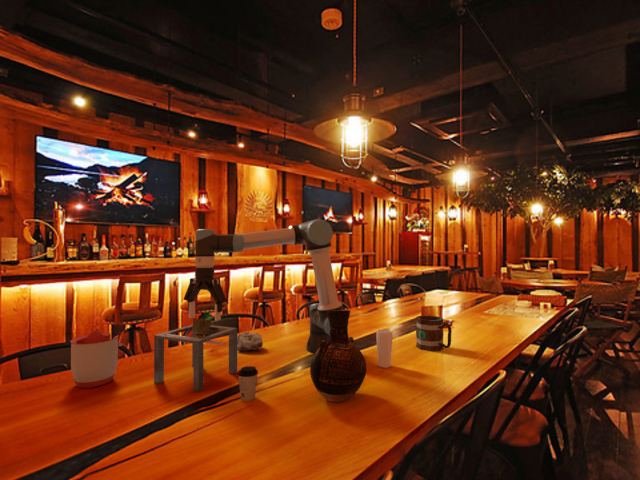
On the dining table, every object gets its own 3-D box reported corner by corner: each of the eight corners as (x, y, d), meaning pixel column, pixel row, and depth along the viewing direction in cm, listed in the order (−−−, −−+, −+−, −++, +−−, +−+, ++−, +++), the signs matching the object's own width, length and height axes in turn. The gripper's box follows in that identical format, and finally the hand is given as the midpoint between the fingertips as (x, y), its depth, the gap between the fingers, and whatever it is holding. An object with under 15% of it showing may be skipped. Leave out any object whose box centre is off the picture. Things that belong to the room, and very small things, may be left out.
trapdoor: (196, 341, 127) (197, 337, 128) (164, 336, 134) (165, 333, 134) (224, 345, 141) (225, 342, 142) (194, 341, 148) (195, 338, 148)
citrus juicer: (131, 378, 137) (131, 327, 138) (83, 394, 122) (83, 337, 123) (109, 371, 145) (109, 323, 146) (61, 385, 130) (62, 331, 131)
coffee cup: (240, 404, 114) (240, 373, 114) (235, 396, 120) (235, 367, 120) (260, 400, 117) (260, 370, 117) (254, 392, 123) (254, 364, 123)
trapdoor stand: (237, 371, 144) (237, 328, 144) (198, 392, 124) (198, 341, 124) (196, 364, 153) (196, 323, 153) (154, 382, 133) (154, 335, 133)
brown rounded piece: (211, 339, 146) (215, 320, 148) (201, 339, 139) (205, 319, 141) (196, 337, 148) (200, 318, 150) (185, 337, 141) (189, 317, 143)
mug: (410, 346, 180) (410, 317, 180) (428, 342, 187) (428, 314, 187) (441, 356, 163) (441, 324, 163) (460, 351, 170) (459, 321, 170)
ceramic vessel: (333, 416, 105) (333, 317, 106) (298, 398, 119) (298, 309, 119) (378, 396, 119) (377, 309, 120) (342, 382, 132) (341, 303, 133)
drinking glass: (394, 364, 152) (393, 330, 152) (390, 369, 145) (390, 333, 146) (378, 362, 154) (378, 328, 155) (374, 367, 148) (374, 332, 149)
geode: (248, 365, 168) (269, 351, 180) (251, 349, 165) (272, 336, 177) (224, 347, 176) (246, 336, 188) (227, 332, 173) (248, 321, 185)
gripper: (175, 266, 144) (174, 318, 144) (223, 268, 134) (222, 323, 134) (188, 265, 151) (188, 314, 151) (235, 266, 141) (235, 319, 141)
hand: (204, 319), depth 142 cm, fingers open, 13 cm apart
